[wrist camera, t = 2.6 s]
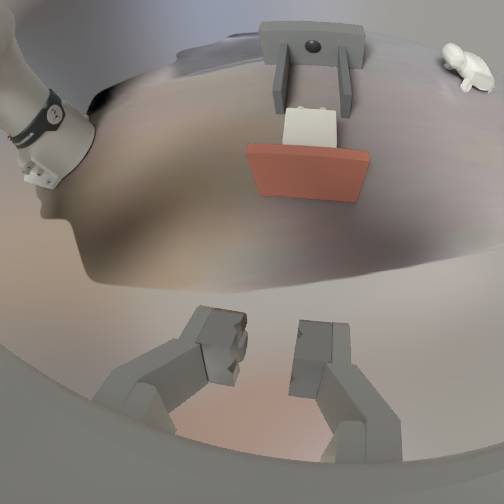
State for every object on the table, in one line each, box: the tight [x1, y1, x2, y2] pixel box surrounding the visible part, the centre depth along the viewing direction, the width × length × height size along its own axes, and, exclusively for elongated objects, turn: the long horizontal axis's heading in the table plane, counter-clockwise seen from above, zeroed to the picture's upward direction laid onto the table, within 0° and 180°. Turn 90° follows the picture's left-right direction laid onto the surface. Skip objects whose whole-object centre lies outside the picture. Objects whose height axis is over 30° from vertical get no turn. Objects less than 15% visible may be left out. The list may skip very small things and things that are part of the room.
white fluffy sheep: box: [441, 43, 495, 93], centre depth 34 cm, size 8×8×15 cm
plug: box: [246, 106, 370, 203], centre depth 32 cm, size 12×12×10 cm
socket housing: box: [259, 21, 366, 118], centre depth 38 cm, size 18×18×8 cm
